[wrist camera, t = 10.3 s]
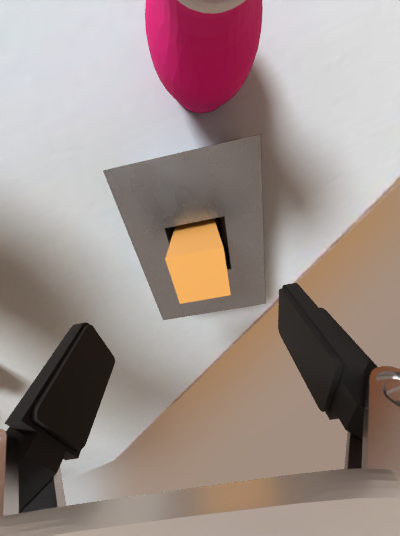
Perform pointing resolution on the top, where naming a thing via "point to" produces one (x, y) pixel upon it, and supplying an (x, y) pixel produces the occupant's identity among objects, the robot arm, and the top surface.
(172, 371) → the top surface
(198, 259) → the wedge peg
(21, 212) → the top surface
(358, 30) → the top surface
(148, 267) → the socket block
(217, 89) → the pepper mill
